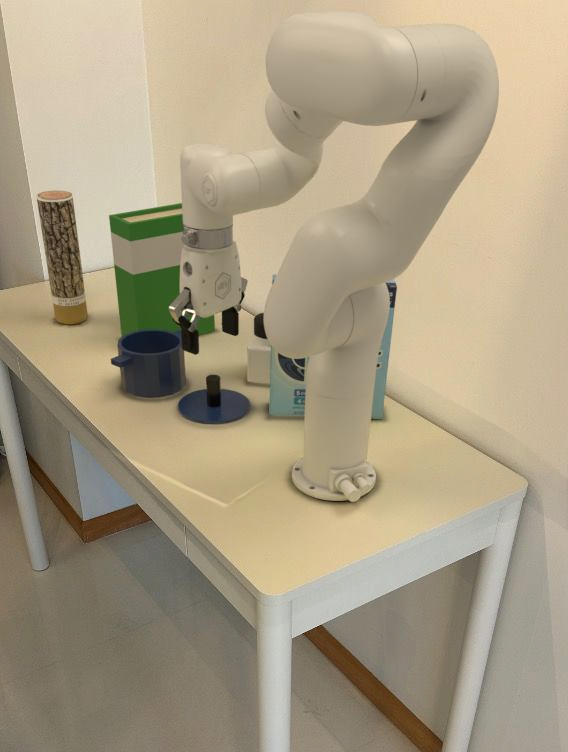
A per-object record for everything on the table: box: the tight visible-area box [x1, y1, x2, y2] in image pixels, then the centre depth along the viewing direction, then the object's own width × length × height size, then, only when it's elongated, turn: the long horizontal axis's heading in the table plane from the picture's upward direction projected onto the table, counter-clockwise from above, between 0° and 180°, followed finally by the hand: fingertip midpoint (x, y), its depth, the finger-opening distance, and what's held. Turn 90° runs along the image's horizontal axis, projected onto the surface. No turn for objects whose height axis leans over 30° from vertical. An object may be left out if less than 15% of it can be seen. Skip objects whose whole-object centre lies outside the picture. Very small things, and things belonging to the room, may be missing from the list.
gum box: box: [268, 274, 398, 420], centre depth 132 cm, size 20×5×23 cm, turn 90°
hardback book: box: [108, 202, 216, 337], centre depth 157 cm, size 18×7×24 cm, turn 127°
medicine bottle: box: [246, 311, 271, 385], centre depth 145 cm, size 7×7×12 cm
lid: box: [177, 374, 251, 425], centre depth 136 cm, size 12×12×6 cm
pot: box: [110, 329, 187, 399], centre depth 143 cm, size 11×17×8 cm
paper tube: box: [36, 190, 89, 325], centre depth 163 cm, size 7×7×25 cm
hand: (210, 342), depth 131 cm, fingers open, 9 cm apart
